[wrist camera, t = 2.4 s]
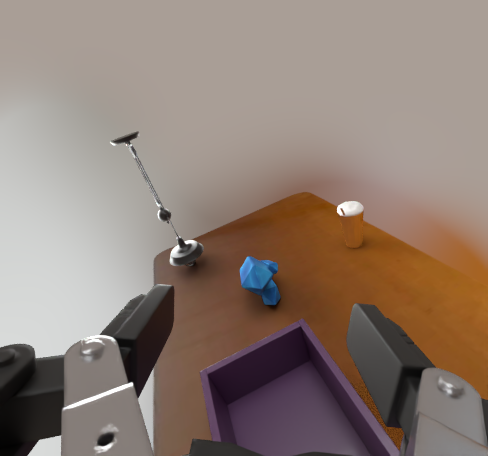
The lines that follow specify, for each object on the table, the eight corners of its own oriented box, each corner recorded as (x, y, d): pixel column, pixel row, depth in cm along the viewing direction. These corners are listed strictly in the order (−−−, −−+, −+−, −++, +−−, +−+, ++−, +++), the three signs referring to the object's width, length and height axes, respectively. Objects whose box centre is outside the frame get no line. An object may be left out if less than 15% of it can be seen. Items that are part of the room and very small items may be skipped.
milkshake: (335, 249, 53) (329, 206, 48) (348, 235, 55) (343, 193, 50) (358, 255, 49) (353, 209, 45) (370, 239, 52) (366, 195, 47)
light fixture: (169, 265, 67) (101, 144, 52) (197, 247, 70) (141, 129, 55) (183, 281, 59) (107, 145, 44) (214, 261, 62) (153, 127, 47)
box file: (221, 405, 34) (199, 371, 30) (313, 356, 36) (303, 318, 32) (269, 604, 20) (239, 587, 16) (412, 506, 22) (415, 471, 18)
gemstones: (266, 240, 50) (285, 262, 39) (279, 278, 53) (301, 309, 41) (230, 254, 50) (238, 280, 38) (245, 292, 52) (257, 327, 41)
